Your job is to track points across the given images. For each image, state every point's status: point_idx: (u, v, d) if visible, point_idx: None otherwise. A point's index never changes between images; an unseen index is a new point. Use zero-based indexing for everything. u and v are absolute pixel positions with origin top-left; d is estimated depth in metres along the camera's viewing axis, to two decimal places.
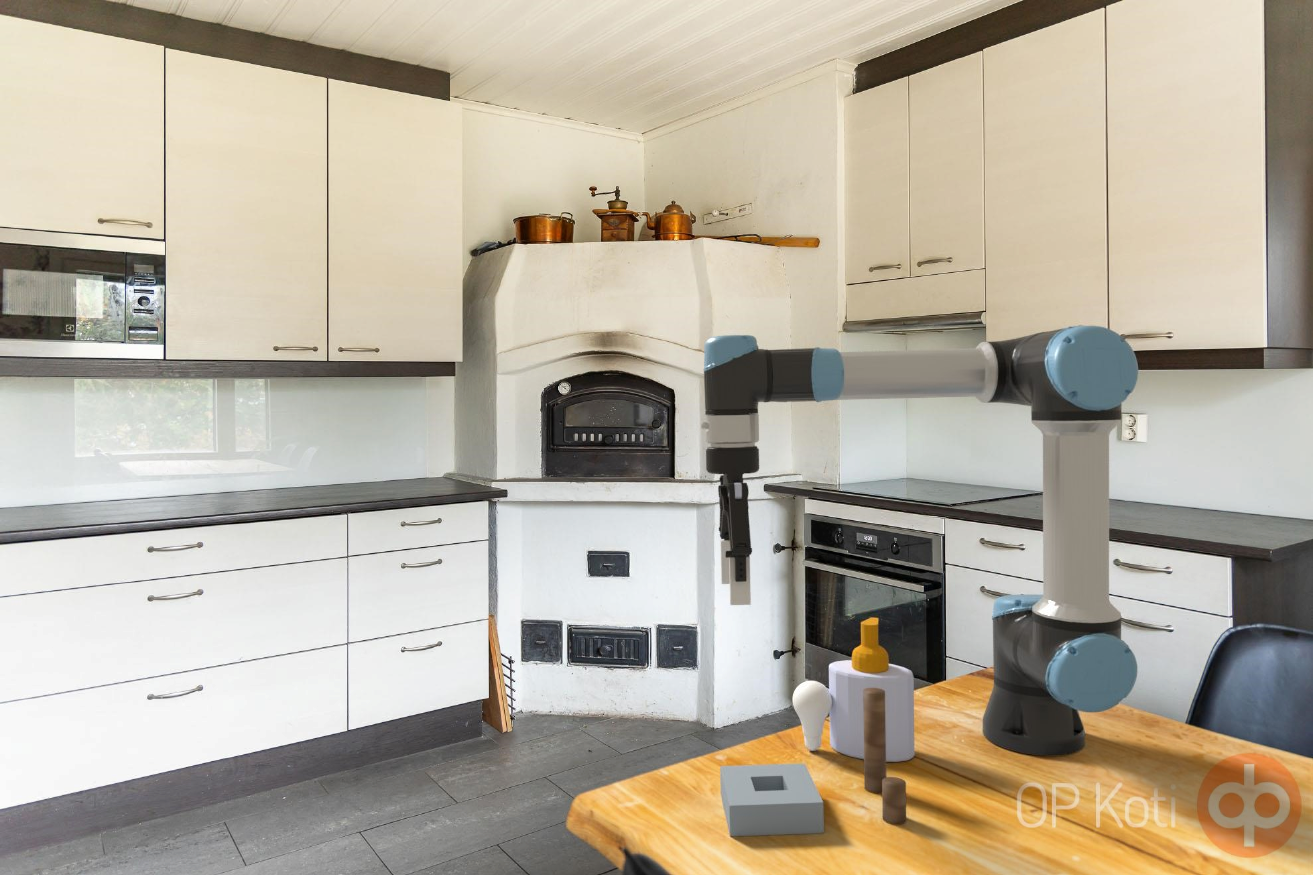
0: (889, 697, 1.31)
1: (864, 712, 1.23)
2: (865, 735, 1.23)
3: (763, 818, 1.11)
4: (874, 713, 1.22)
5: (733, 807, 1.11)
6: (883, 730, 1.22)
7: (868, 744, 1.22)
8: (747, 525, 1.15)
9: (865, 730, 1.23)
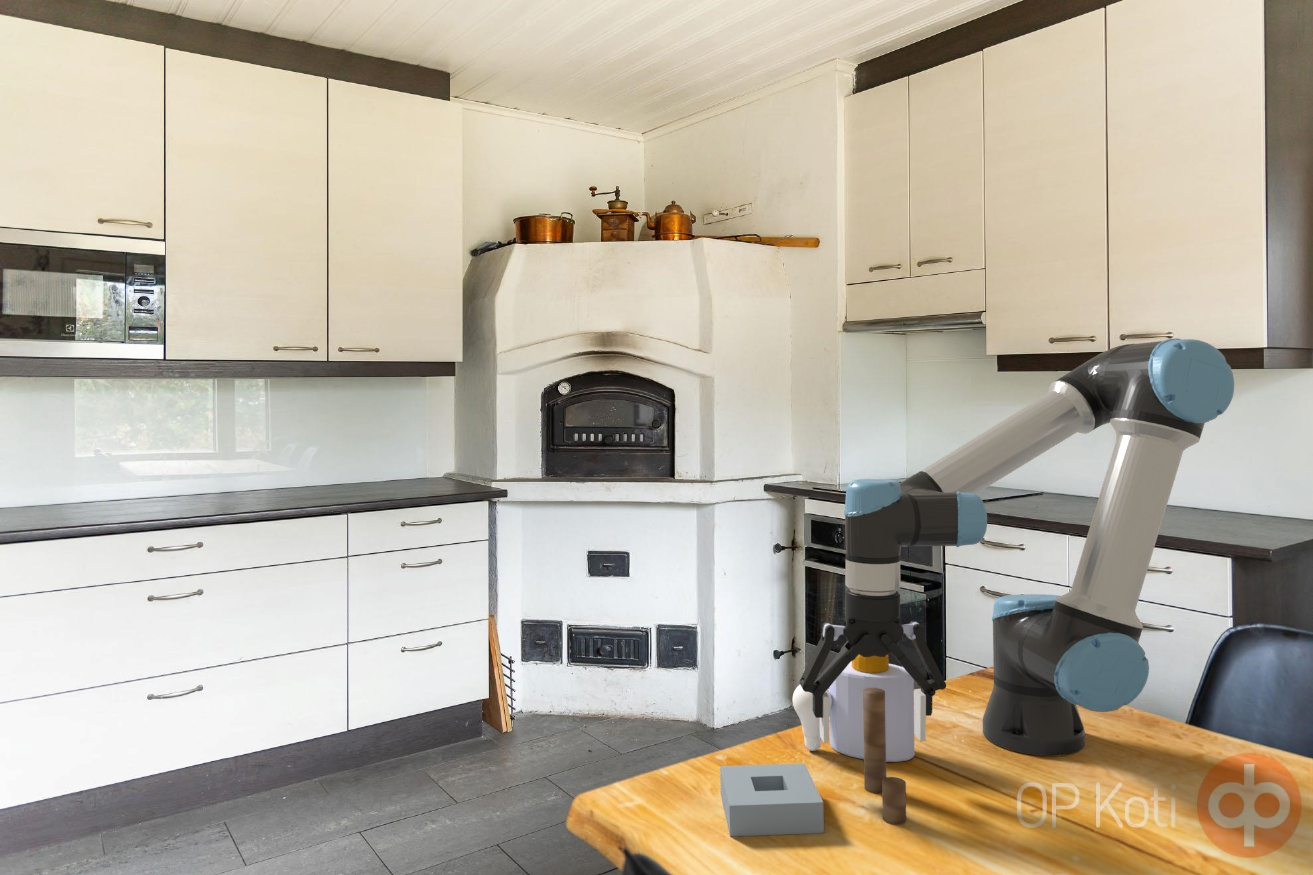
0: (889, 697, 1.31)
1: (864, 712, 1.23)
2: (865, 735, 1.23)
3: (763, 818, 1.11)
4: (874, 713, 1.22)
5: (733, 807, 1.11)
6: (883, 730, 1.22)
7: (868, 744, 1.22)
8: (812, 664, 1.21)
9: (865, 730, 1.23)
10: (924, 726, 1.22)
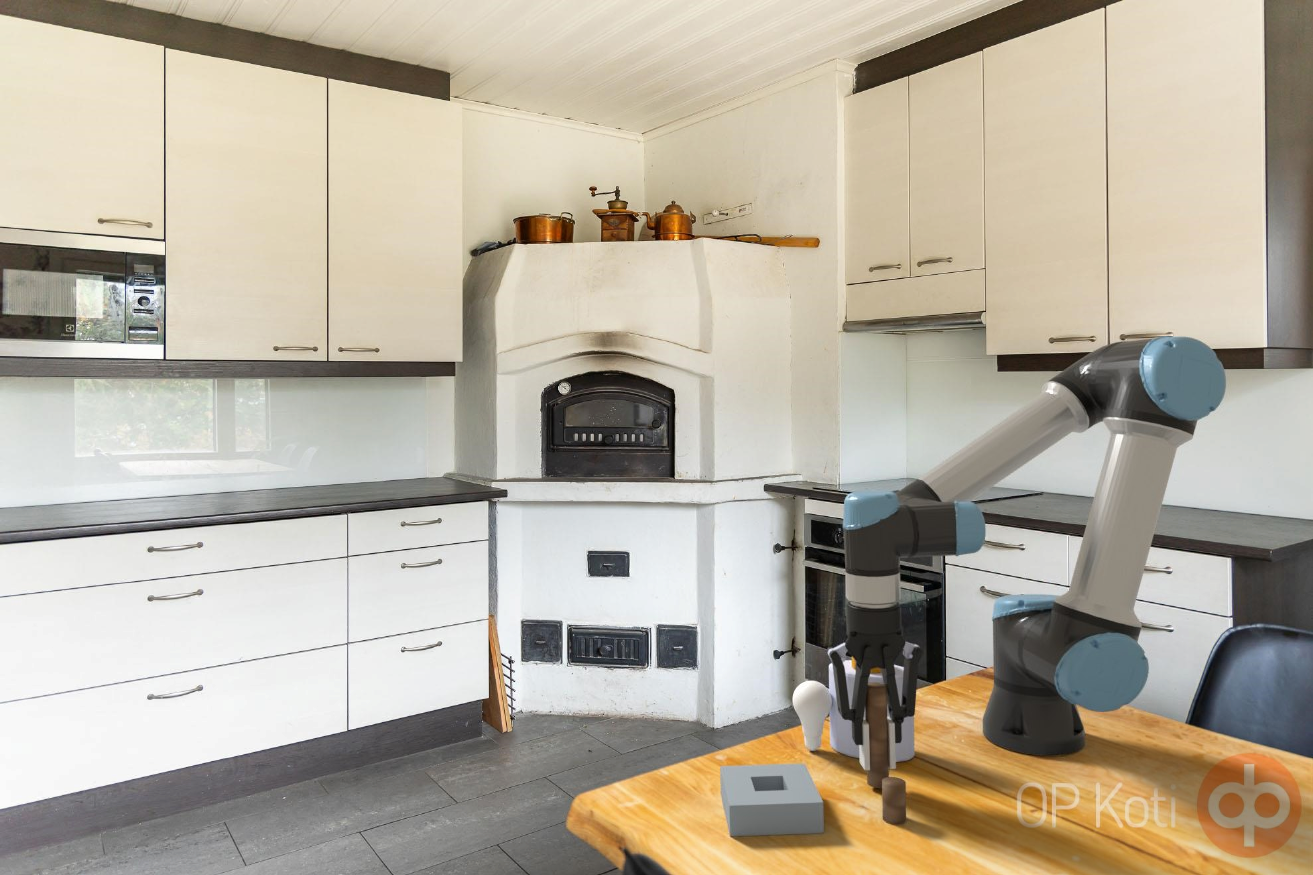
0: None
1: (866, 707, 1.23)
2: None
3: (763, 818, 1.11)
4: (876, 708, 1.21)
5: (733, 807, 1.11)
6: (885, 725, 1.22)
7: (870, 739, 1.22)
8: (838, 693, 1.22)
9: None
10: (894, 754, 1.22)
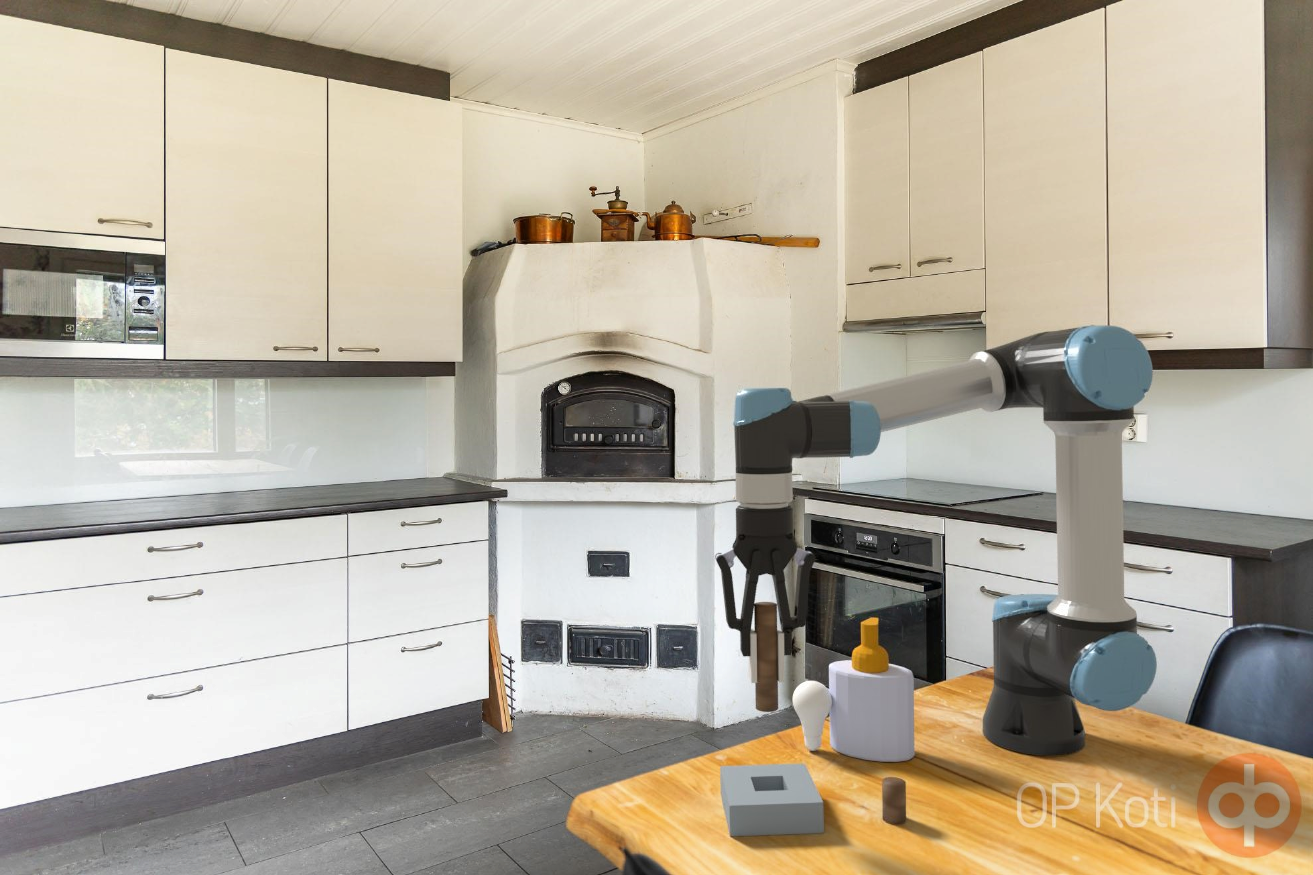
0: (889, 697, 1.31)
1: (755, 626, 1.16)
2: None
3: (763, 818, 1.11)
4: (764, 627, 1.15)
5: (733, 807, 1.11)
6: (774, 645, 1.15)
7: (758, 660, 1.15)
8: (725, 600, 1.15)
9: None
10: (783, 666, 1.15)
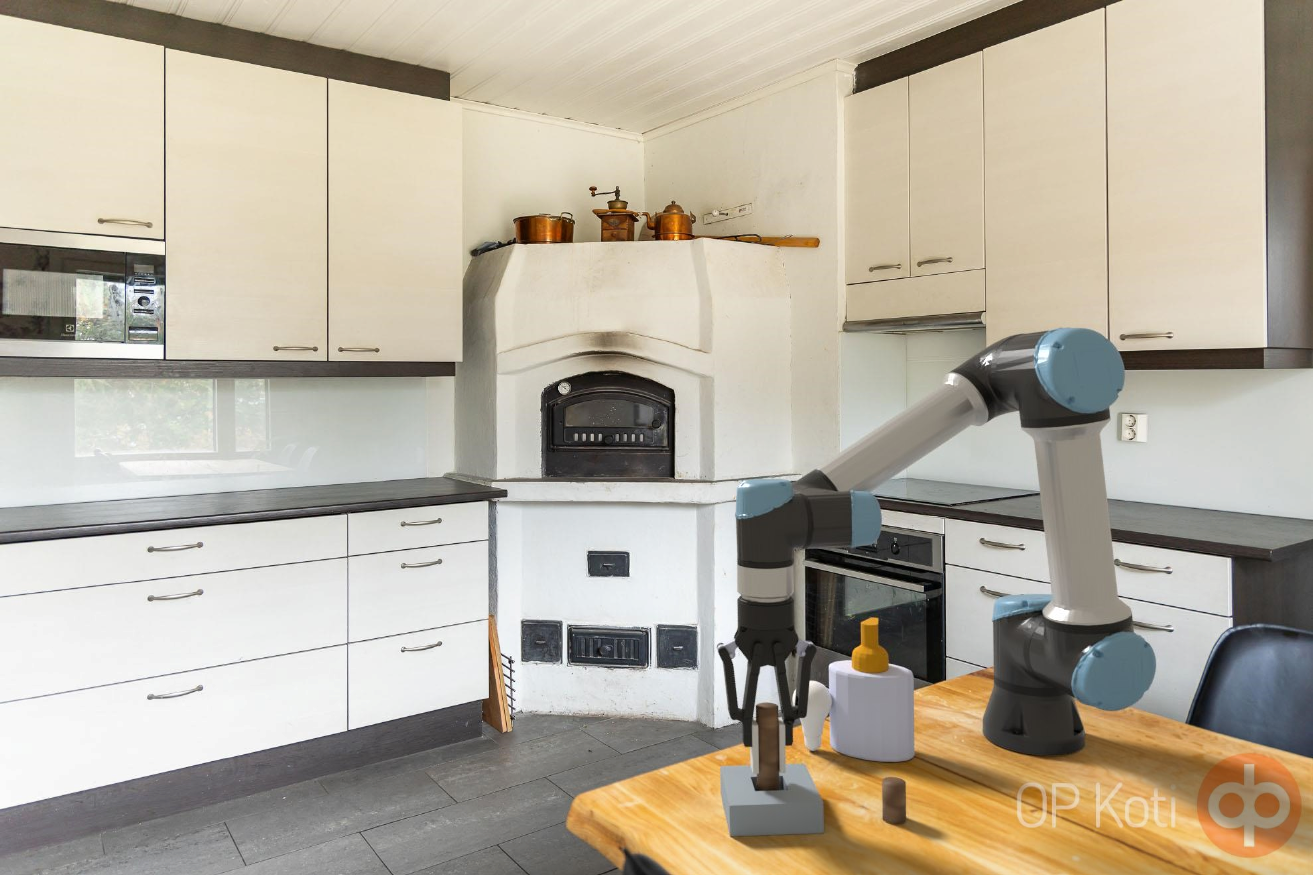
0: (889, 697, 1.31)
1: None
2: None
3: (763, 818, 1.11)
4: (766, 730, 1.15)
5: (733, 807, 1.11)
6: (775, 747, 1.15)
7: (760, 762, 1.16)
8: (727, 691, 1.15)
9: None
10: (784, 757, 1.15)
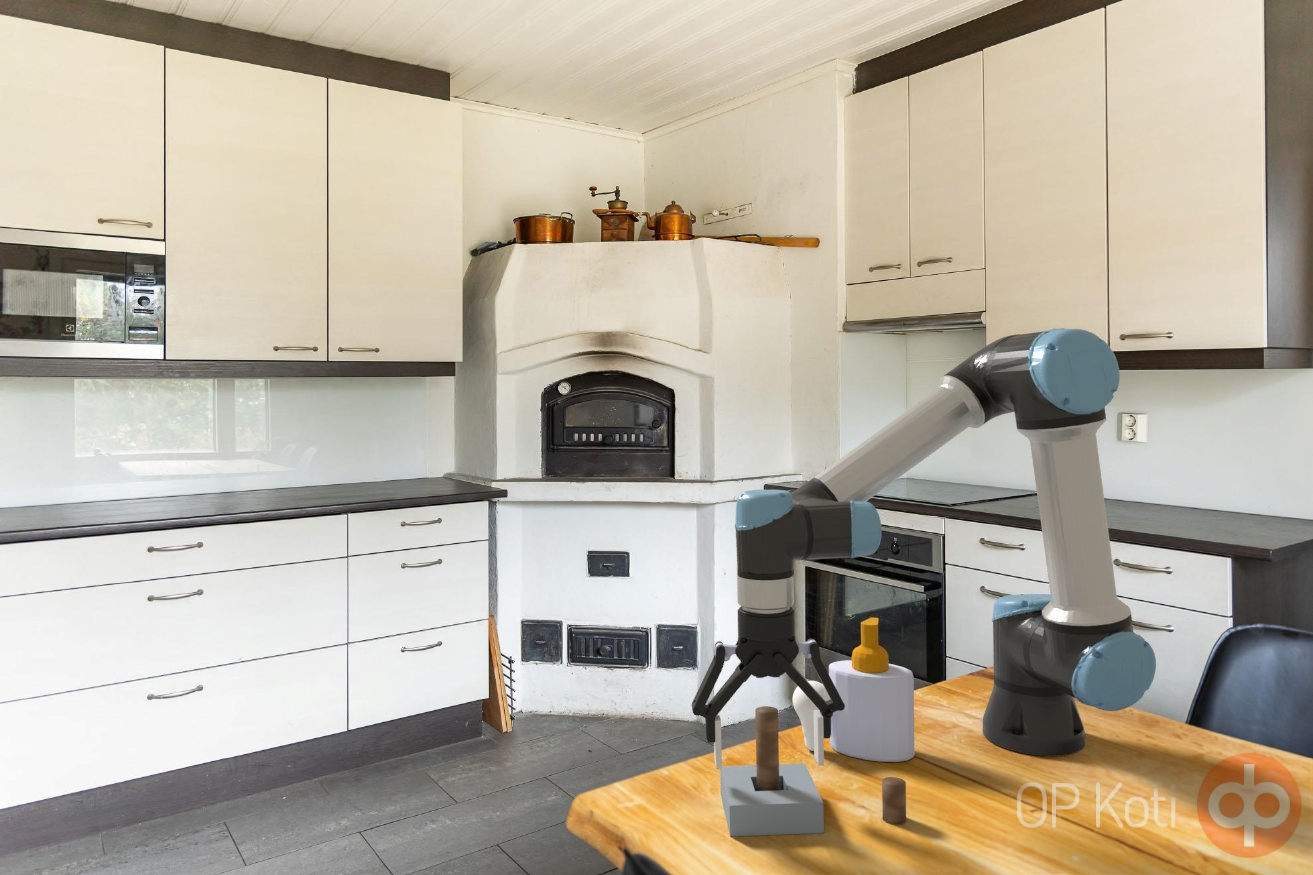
0: (889, 697, 1.31)
1: (756, 732, 1.16)
2: (757, 756, 1.16)
3: (763, 818, 1.11)
4: (765, 734, 1.15)
5: (733, 807, 1.11)
6: (775, 751, 1.15)
7: (759, 766, 1.16)
8: (703, 686, 1.15)
9: (757, 751, 1.16)
10: (822, 749, 1.16)
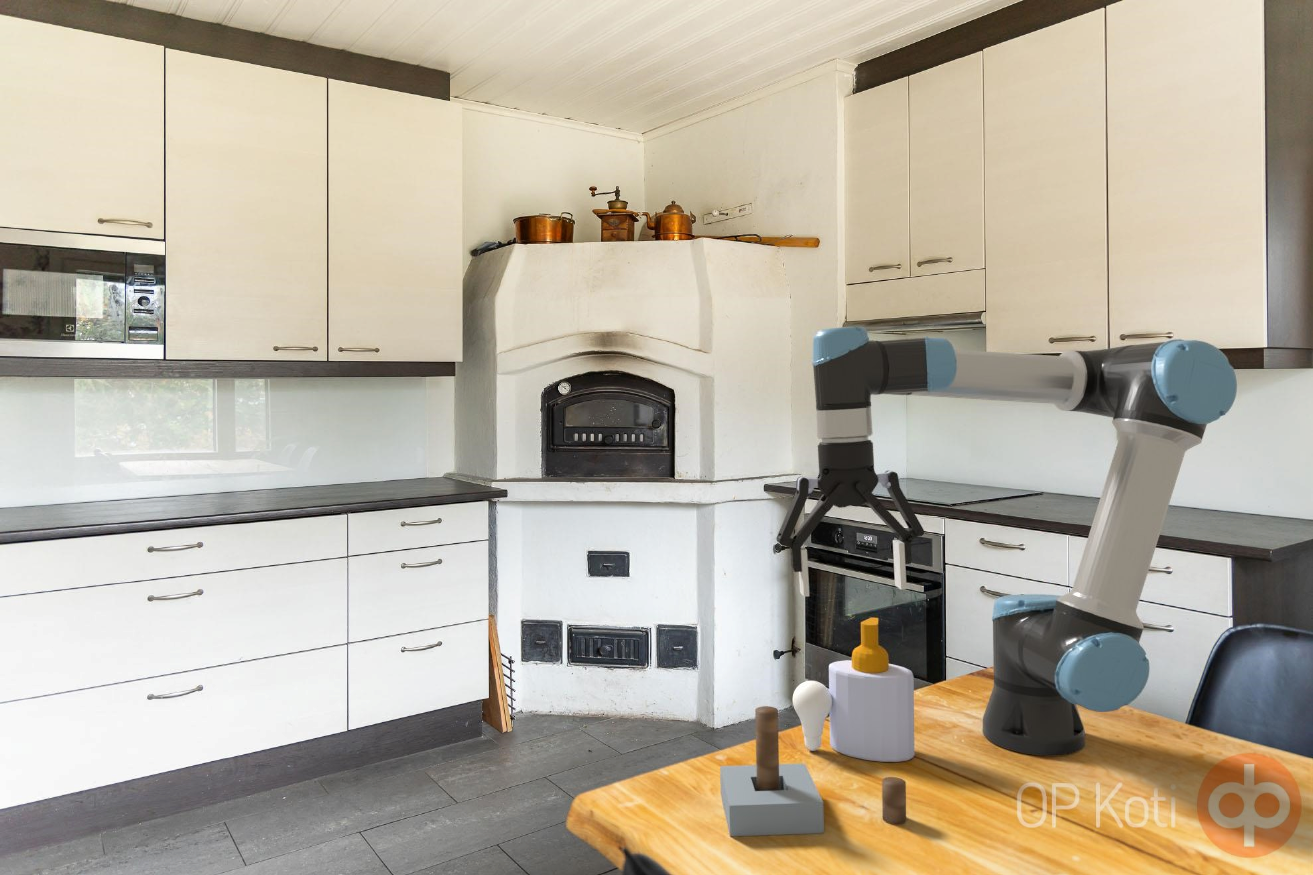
0: (889, 697, 1.31)
1: (756, 732, 1.16)
2: (757, 756, 1.16)
3: (763, 818, 1.11)
4: (765, 734, 1.15)
5: (733, 807, 1.11)
6: (775, 751, 1.15)
7: (759, 766, 1.16)
8: (788, 518, 1.20)
9: (757, 751, 1.16)
10: (904, 574, 1.21)
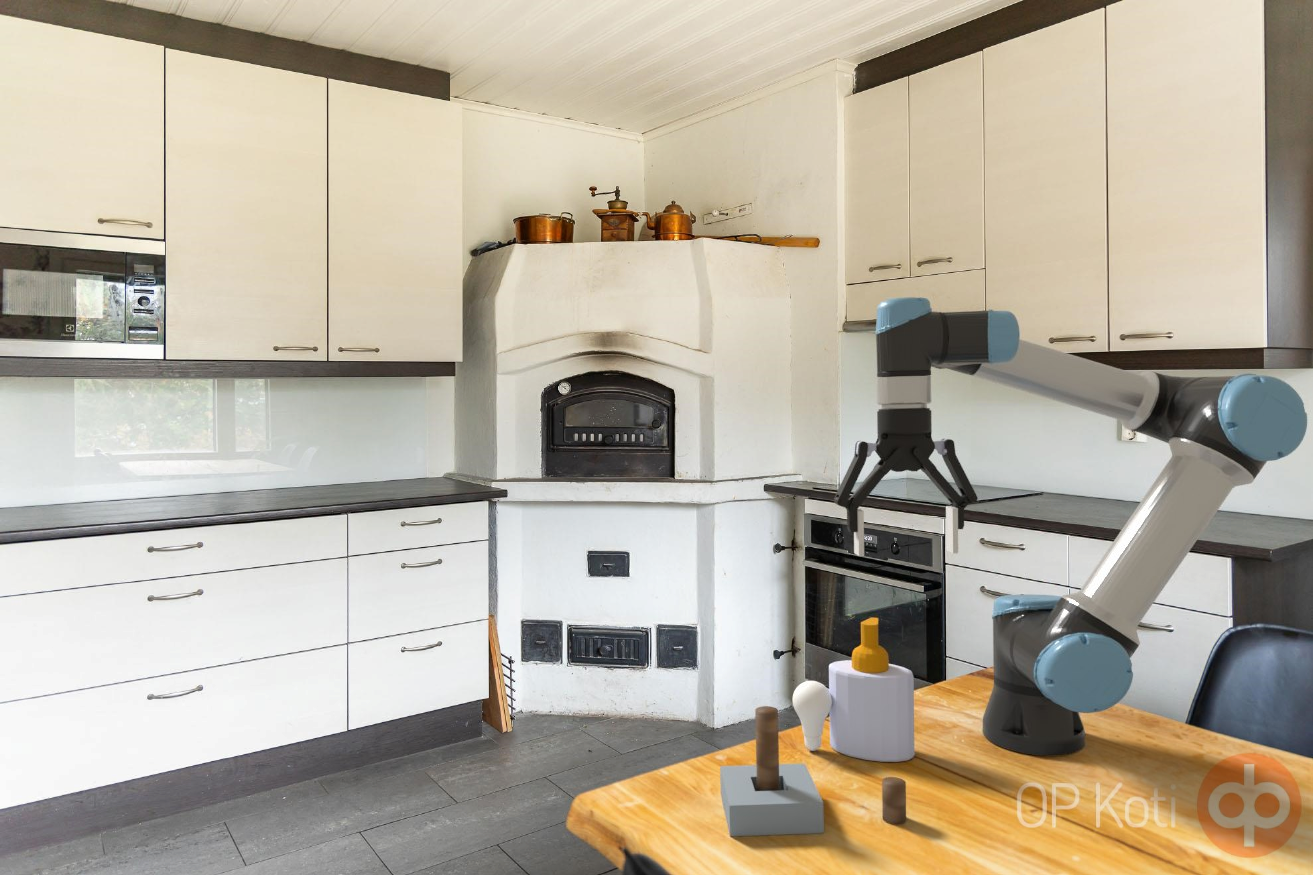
0: (889, 697, 1.31)
1: (756, 732, 1.16)
2: (757, 756, 1.16)
3: (763, 818, 1.11)
4: (765, 734, 1.15)
5: (733, 807, 1.11)
6: (775, 751, 1.15)
7: (759, 766, 1.16)
8: (847, 480, 1.25)
9: (757, 751, 1.16)
10: (956, 538, 1.25)
